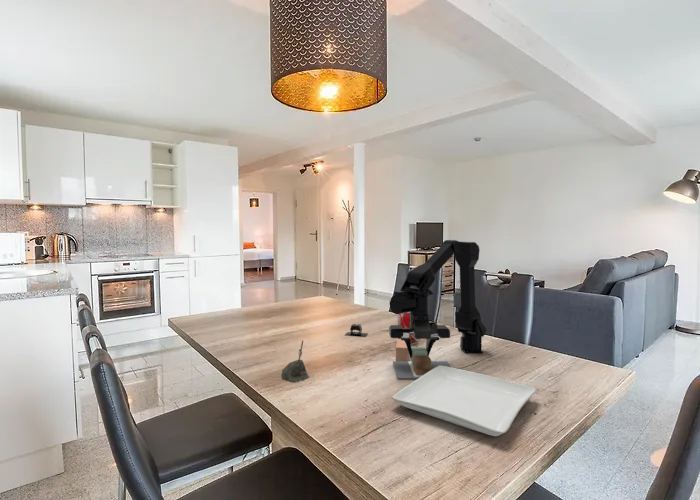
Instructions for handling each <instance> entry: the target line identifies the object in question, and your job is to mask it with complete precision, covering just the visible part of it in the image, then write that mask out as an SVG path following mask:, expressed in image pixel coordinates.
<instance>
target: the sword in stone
mask: <svg viewBox="0 0 700 500" xmlns="http://www.w3.org/2000/svg"><path fill="white" fill-rule="evenodd" d="M303 344H304V340H301V344H300V349H298V350H299V351H298V359H297V360H294V361H291V362H289V363H288V364H287V365H285V366H284V368H283V369H282V372H281V374H280V375H281V379H282V380H284V381H288V382H290V383H293V384H294V383H299V382H302V381H303V382H304V381H306V380H307V379H309V378H310V376H309V374H308V372H307V370H306V366H305V363H304V361H303V360H302V359H301V358H302V354H303Z"/></svg>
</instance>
